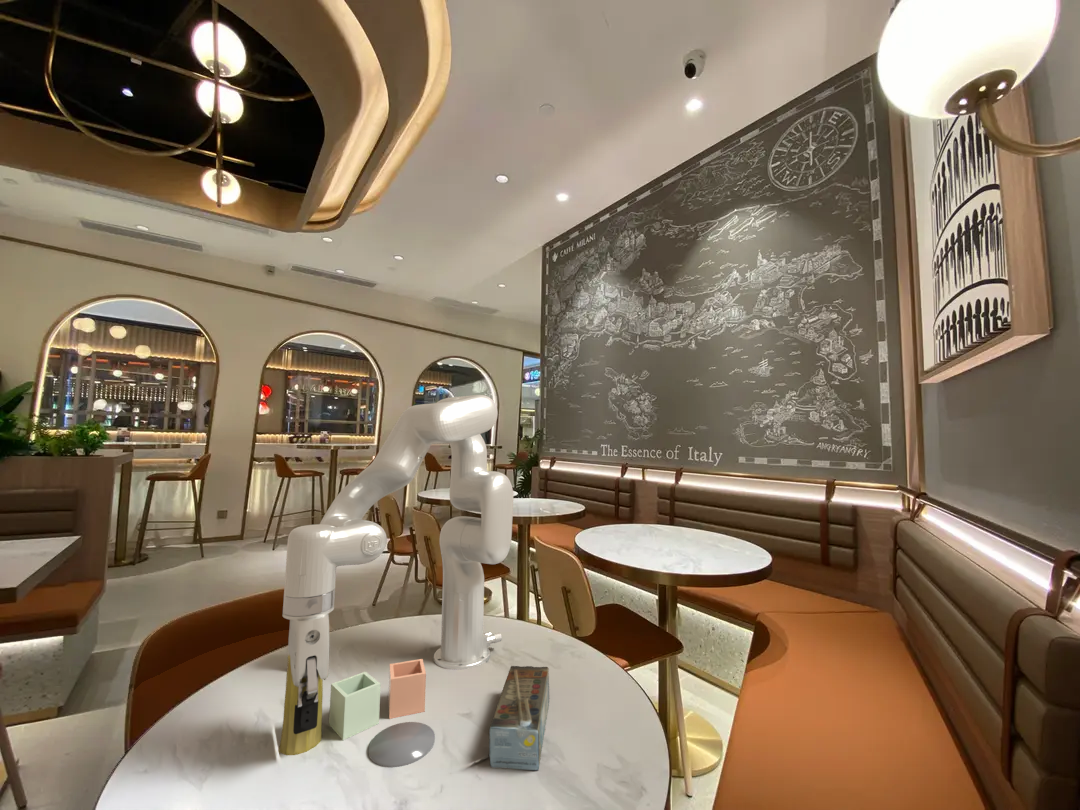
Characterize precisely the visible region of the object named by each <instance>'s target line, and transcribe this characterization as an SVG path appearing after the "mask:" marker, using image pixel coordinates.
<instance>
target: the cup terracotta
mask: <svg viewBox="0 0 1080 810" xmlns="http://www.w3.org/2000/svg"><path fill="white" fill-rule="evenodd" d="M426 672H427V671H426V667H425V663H424V659H423V658H420V659H412V660H407V661H406V660H405V661H401V662H395V663H389V673H388V674H389V675H388V680H389V681H388V696H387V697H388V698H387V703H388V705H387V706H388V719H389V720H391V719H396V718H401V717H405V716H410V715H411V716H412V715H415V714H420V713H425V712H426V711H425V710H426V688H427V687H426V686H427V683H426V682H427V681H426V680H427V673H426Z"/></svg>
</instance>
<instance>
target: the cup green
mask: <svg viewBox="0 0 1080 810" xmlns="http://www.w3.org/2000/svg"><path fill="white" fill-rule="evenodd" d="M381 685H382V684H381V682H380V681H378V680H377V679H376V678H375V677H373V676H372V675H370V673H369V672H367V671H363V672H360V673H358V674H355V675H352V676H349V677H346V678H343V679H341V680H338V681H335V682H333V683H330V696H329V697H330V699H329V715H328V717H329V719H328V725H329V726H330V727H331V729H333V731H334V732H335V733H336V735H338V737H340V739H341V740H342V741H346V740H347V739H349V738H352V737H353V736H356V735H358V734H360V733H362V732H365V731H367V730H369V729H371V728H373V727H375V726H378V725H380V706H381V705H380V704H381Z"/></svg>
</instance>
